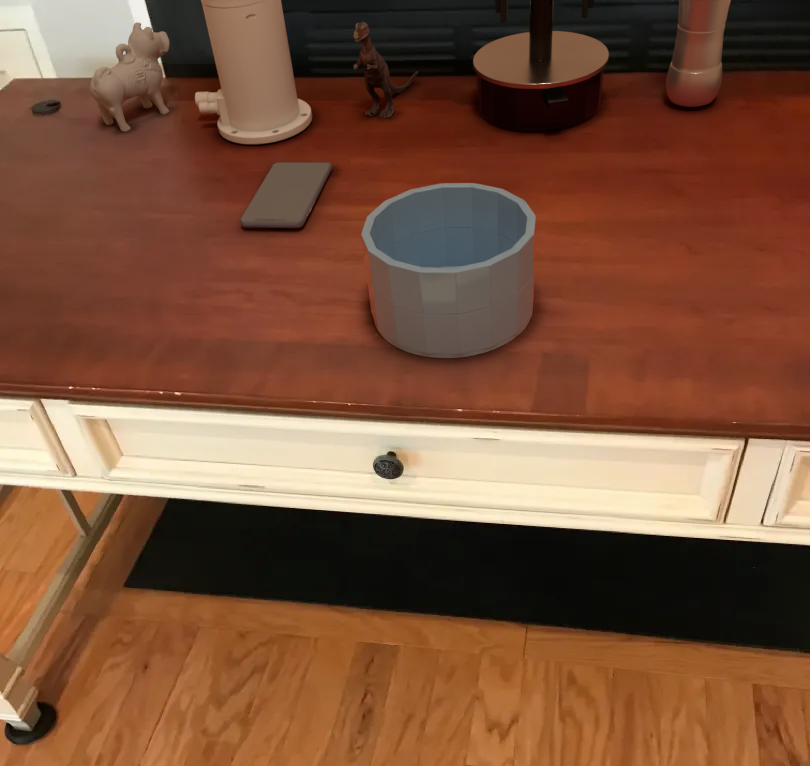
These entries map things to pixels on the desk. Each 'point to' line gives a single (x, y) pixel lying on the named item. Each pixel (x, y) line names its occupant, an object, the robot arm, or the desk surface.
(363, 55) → the dinosaur model
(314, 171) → the smartphone
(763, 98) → the desk surface
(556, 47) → the lid
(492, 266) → the pot
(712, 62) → the plastic bottle
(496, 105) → the pan
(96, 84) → the dog figurine
